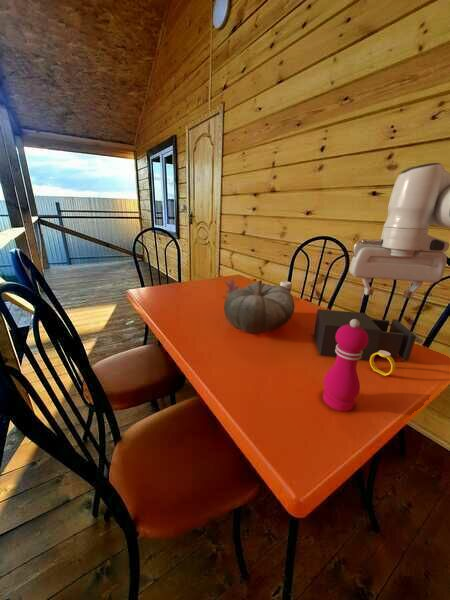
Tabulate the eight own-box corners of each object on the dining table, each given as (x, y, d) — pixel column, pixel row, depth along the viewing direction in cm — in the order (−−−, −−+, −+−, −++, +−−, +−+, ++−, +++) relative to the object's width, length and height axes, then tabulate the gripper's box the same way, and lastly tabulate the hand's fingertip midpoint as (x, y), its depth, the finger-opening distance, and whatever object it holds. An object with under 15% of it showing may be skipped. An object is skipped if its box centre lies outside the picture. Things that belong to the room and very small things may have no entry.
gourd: (305, 317, 95) (304, 273, 88) (278, 354, 77) (274, 303, 70) (247, 308, 109) (242, 269, 102) (213, 338, 91) (204, 294, 84)
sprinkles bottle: (276, 311, 107) (279, 280, 103) (287, 312, 107) (291, 281, 102) (277, 315, 103) (281, 283, 98) (289, 316, 103) (293, 284, 98)
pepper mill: (323, 386, 61) (338, 309, 55) (356, 397, 58) (376, 317, 51) (317, 404, 56) (333, 321, 49) (353, 418, 52) (376, 330, 45)
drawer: (404, 343, 82) (411, 320, 79) (424, 362, 71) (433, 337, 69) (346, 337, 85) (350, 315, 82) (357, 355, 74) (363, 330, 71)
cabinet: (359, 340, 85) (365, 313, 82) (373, 361, 73) (381, 330, 70) (313, 335, 87) (317, 309, 84) (320, 355, 75) (325, 325, 72)
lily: (221, 305, 114) (231, 289, 110) (211, 289, 122) (221, 273, 118) (241, 308, 122) (251, 293, 117) (231, 293, 129) (240, 278, 125)
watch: (394, 377, 66) (400, 357, 64) (387, 380, 65) (393, 360, 63) (372, 365, 71) (377, 346, 69) (366, 367, 70) (370, 348, 68)
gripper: (360, 240, 58) (348, 296, 63) (458, 244, 56) (438, 303, 60) (351, 237, 64) (341, 289, 69) (439, 241, 62) (423, 295, 66)
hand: (387, 296), depth 65 cm, fingers open, 8 cm apart
